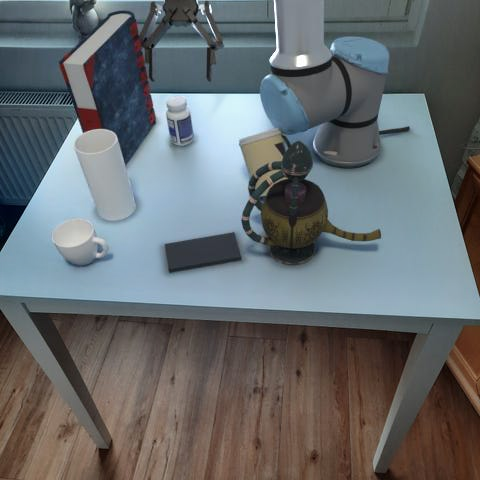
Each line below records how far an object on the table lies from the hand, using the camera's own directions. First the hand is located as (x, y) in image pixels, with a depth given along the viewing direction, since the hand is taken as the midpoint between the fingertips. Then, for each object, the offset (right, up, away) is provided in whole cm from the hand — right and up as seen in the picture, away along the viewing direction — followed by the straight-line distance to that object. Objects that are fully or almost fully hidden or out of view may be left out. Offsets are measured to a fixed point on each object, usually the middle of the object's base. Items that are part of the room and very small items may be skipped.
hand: (180, 79), depth 111 cm
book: (-13, -13, +5) cm, 19 cm away
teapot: (+28, -43, -19) cm, 55 cm away
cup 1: (-12, -33, -10) cm, 36 cm away
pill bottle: (0, -12, +5) cm, 13 cm away
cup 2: (-16, -45, -18) cm, 51 cm away
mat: (+7, -44, -19) cm, 48 cm away
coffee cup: (+21, -29, -10) cm, 38 cm away
